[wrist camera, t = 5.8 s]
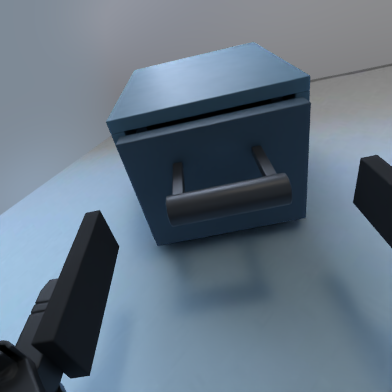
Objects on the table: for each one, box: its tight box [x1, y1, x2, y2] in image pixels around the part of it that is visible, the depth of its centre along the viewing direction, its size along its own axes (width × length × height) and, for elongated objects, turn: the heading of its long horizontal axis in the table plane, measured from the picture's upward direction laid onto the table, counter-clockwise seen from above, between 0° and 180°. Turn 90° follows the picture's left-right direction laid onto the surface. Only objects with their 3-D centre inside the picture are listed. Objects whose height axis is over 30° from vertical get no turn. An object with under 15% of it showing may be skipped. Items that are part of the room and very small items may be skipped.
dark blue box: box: [106, 42, 310, 239], centre depth 26 cm, size 15×13×11 cm
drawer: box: [116, 97, 311, 246], centre depth 22 cm, size 19×12×9 cm, turn 4°
